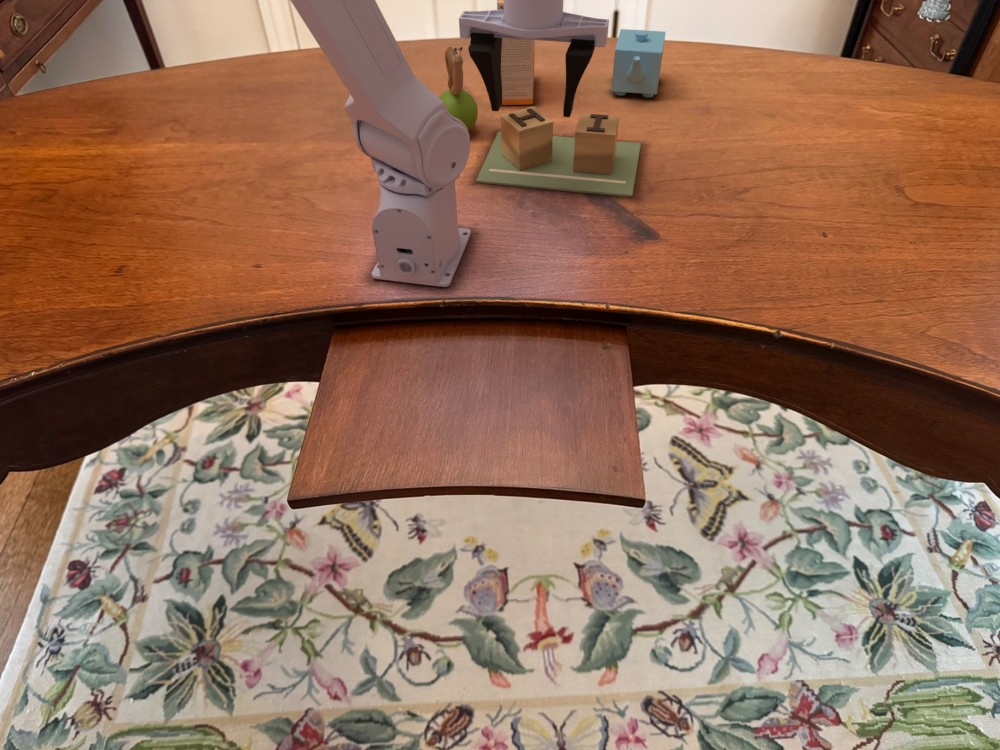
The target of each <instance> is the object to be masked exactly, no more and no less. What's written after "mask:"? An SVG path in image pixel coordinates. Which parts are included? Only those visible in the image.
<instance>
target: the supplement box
mask: <svg viewBox="0 0 1000 750" xmlns="http://www.w3.org/2000/svg"><path fill="white" fill-rule="evenodd" d="M503 9H504V0H496V10H503ZM535 48H536V40H526V39H511V38H502V51H501V79H502V104H501V106H519V105H520V106H521V105H522V106H524V105H533V103H534V84H535V83H534V80H535V78H534V77H535V54H536V52H535V50H536V49H535Z"/></svg>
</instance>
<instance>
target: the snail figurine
mask: <svg viewBox="0 0 1000 750" xmlns="http://www.w3.org/2000/svg"><path fill="white" fill-rule="evenodd" d="M463 49H464V48H463V46H462V45H458V46H455V45H454V46H449V47H447V48H446V49H445V52H444V60H445V61H444V62H445V67H446V71H447V86H448V90H445V91H443V92H442V93H441V94H440V95H439V96H438V97H439V98H440V99H441V100H442V101H443V102H444V104H445V106H446V108H447V110H448V111H449V113H450V114H451V115H452V116H453V117H455V118H457V119H459V120H461V121H462V122H463V123H464V124H465V126H466V127H467V129H468V132H470V130H472V128H473V127H474V126H475V124H476V123H477V120H478V116H479V110H478V105H477V102H476V100H475V98H474V97H473V96H472V95H471V94H470V93H469V92H468V91H466V90H464V89H463V87H464V67H463V64H464V59H463V57H462V51H463ZM457 50H458V51H459V53H458V51H457Z"/></svg>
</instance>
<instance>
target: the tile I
mask: <svg viewBox="0 0 1000 750" xmlns="http://www.w3.org/2000/svg"><path fill="white" fill-rule="evenodd" d="M619 125H620V116H615V115H608V114H597V113H596V114H595V113H589V114H588V113H580V114H579V118H578V121H577V124H576V127H575V131H574V138H575V143H574V161H573V172H583V173H594V174H605V175H611V174H612V170H613V165H614V160H615V155H616V145H617V141H618V135H619V134H618V133H619Z"/></svg>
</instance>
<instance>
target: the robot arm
mask: <svg viewBox="0 0 1000 750" xmlns="http://www.w3.org/2000/svg"><path fill="white" fill-rule="evenodd" d="M290 2H291V4H292V5H293V7H294V9H295V10H296V11H297V13H298V15H299V16H300V18H301V19H302V21H303V23H304V24H305V26H306V28H307V29H308V30H309V32H310V34H311V35H312V37H313V38H314V40H315V42H316V43H317V45H318V46H319V48H320V49H321V51H322V52H323V55H324V56H325V57H326V59H327V60H328V62H329V64H330V66H331V67H332V68H333V70H334V71H335V73H336V74H337V76H338V77H339V79H340V80H341V82H342V84H343V85H344V87H345V89H346V90H347V92H348V93H349V96H348V98H347V100H346V102H345V104H344V108H343V109H344V111H345V113H346V114H347V115H348V117H349V119H350V121H351V124H352V129H353V137H354V141H355V144H356V146H357V148H358V149H359V151H360V152H361V153H362V154H363V155H365V156H366V157H368V158H370V160H371V166H372V170H373V171H374V172H375V173H376V175H377V183H378V189H379V202H378V207H377V210H376V212H375V215H374V216H373V219H372V223H371V224H372V225H371V230H372V236H373V242H374V243H373V244H374V248H375V254H376V259H377V262H376V264H375V266H374V267H373V270H372V271H371V278H373V279H375V280H384V281H392V282H398V283H408V284H416V285H424V286H431V287H441V288H447V287H449V286H450V285H451V283H452V280H453V278H454V276H455V273H456V271H457V269H458V266H459V265H460V262H461V260H462V257H463V255H464V252H465V249H466V248H467V245H468V242H469V240H470V237H471V235H472V230H471V229H470V228H465V227H459V218H458V207H457V192H456V191H457V190H456V180H458V179H459V178H460V176H461V174H462V173H463V171H464V169H465V168H466V165H467V163H468V160H469V157H470V151H471V137H470V136H471V135H470V131H468V129H467V127H466V126H465V124H464V123H463V122H462V121H461V120H459V119H457V118H455V117H453V116H452V115H451V114H450V113H449V111H448V110H447V108H446V106H445V104H444V102H443V101H442V100H441V99H440V98H439V97H440V96H438V95H437V94H436V93H435V92H434V91H432V90H431V89H430V88H429V87H428V86H426V84H425V83H423V82H422V81H421V80H420V79H419V78H418V77H417V76H416V75H415V74H414V73H413V70H412V68H411V66H410V65H409V63H408V61H407V59H406V57H405V55H404V53H403V51H402V49H401V48H400V45H399V43H398V42H397V39H396V38H395V36H394V33H393V31H392V30H391V28H390V26H389V24H388V22H387V20H386V18H385V16H384V14H383V13H382V11H381V9H380V7H379V5H378V3H377V1H376V0H290ZM609 26H610V20H609V18H608V19H607V18H597V17H591V16H586V15H580V14H577V13H571V12H567V11H564V0H504V9H503V10H497V9H490V10H463V12H462V13H461V14H460V15H459V17H458V28H459V30H458V31H459V38H460V39H470V42H469V43H470V44H469V45H468V48H467V50H468V54H469V57H470V59H471V60H472V61H473V63H474V65H475V67H476V68H477V70H478V72H479V74H480V76H481V78H482V81H483V84H484V86H485V89H486V92H487V97H488V100H489V103H490V107H491V111H492V112H499V110H500V108H501V106H502V105H501V104H502V79H501V51H502V38H511V39H526V40H535V41H540V42H541V41H543V42H557V43H569V46H568V47H567V50H566V52H565V57H564V58H565V92H564V98H563V99H564V100H563V107H562V117H563V118H570V117H571V116H572V112H573V110H574V109H573V108H574V101H575V97H576V93H577V89H578V86H579V84H580V82H581V79H582V78H583V76H584V73H585V71H586V69H587V68H588V66H589V64H590V62H591V60H592V58H593V55H594V52H595V49H596V48H606V46H607V43H608V38H609V37H608V36H609Z"/></svg>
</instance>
